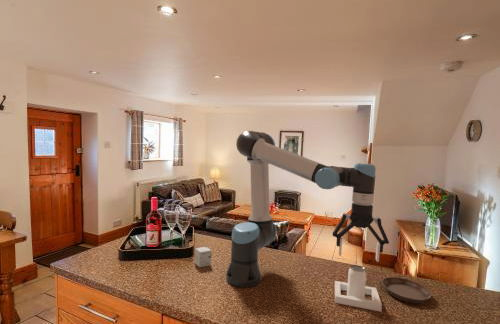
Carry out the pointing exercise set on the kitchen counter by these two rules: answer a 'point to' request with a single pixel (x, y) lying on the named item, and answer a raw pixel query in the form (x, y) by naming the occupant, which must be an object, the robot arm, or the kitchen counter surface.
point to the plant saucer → (406, 290)
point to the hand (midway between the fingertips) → (358, 257)
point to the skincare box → (202, 256)
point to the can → (356, 282)
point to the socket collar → (358, 302)
